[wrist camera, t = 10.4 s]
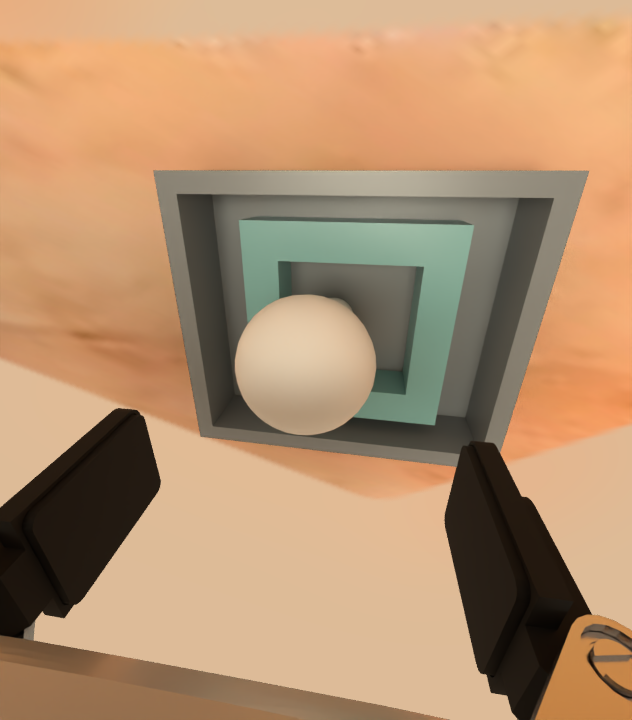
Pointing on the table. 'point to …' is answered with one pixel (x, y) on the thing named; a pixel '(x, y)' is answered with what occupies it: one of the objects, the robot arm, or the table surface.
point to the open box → (373, 291)
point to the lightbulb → (305, 364)
